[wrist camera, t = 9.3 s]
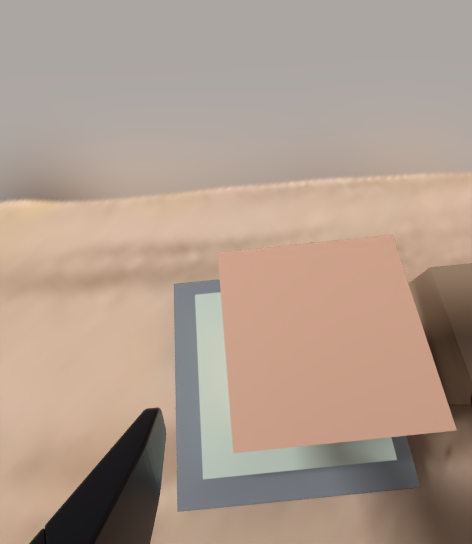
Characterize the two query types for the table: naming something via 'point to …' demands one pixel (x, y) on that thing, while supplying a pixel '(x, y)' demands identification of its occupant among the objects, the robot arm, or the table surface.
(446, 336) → the walnut stand
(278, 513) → the table surface
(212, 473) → the foundation slab
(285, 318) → the terracotta brick
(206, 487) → the baseplate
